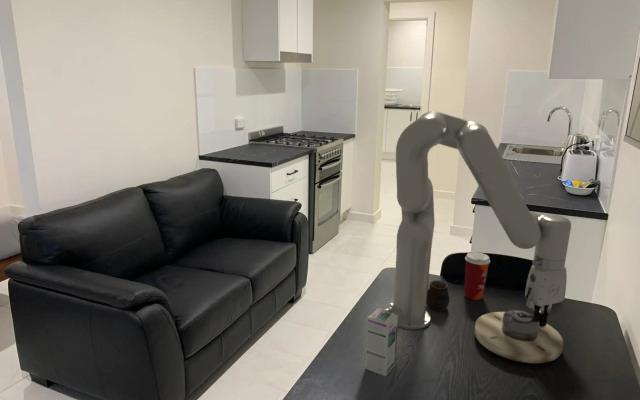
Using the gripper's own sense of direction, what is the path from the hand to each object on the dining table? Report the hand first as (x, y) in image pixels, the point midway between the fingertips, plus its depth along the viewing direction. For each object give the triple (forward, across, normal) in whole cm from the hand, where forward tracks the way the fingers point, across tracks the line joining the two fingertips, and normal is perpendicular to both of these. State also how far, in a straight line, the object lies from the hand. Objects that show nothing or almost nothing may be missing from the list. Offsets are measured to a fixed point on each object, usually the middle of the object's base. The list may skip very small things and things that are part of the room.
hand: (539, 323), depth 131 cm
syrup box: (+5, -47, +3) cm, 47 cm away
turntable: (+3, -7, 0) cm, 8 cm away
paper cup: (+5, 0, +27) cm, 28 cm away
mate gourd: (+5, -16, +24) cm, 29 cm away
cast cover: (+1, -7, 0) cm, 7 cm away
